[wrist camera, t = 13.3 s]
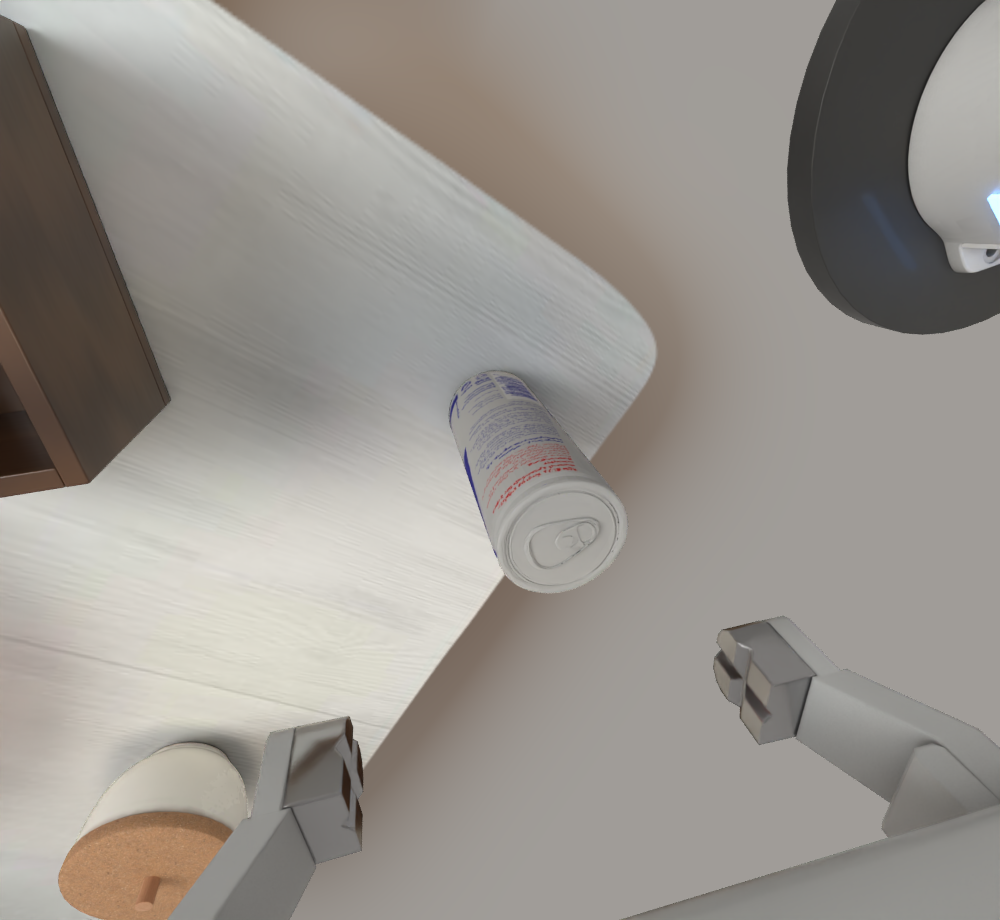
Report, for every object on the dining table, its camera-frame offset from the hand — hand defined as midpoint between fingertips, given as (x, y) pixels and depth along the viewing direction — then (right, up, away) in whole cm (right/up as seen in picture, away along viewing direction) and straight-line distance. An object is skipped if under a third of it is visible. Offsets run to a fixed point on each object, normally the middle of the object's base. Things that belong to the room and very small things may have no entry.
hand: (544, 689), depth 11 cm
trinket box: (-26, -19, +31) cm, 45 cm away
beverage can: (-2, +8, +23) cm, 25 cm away
